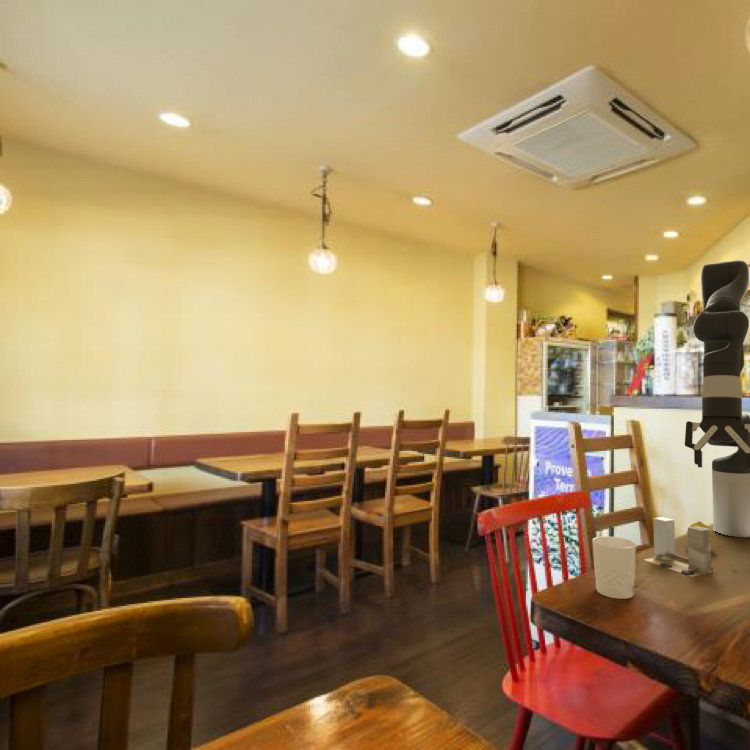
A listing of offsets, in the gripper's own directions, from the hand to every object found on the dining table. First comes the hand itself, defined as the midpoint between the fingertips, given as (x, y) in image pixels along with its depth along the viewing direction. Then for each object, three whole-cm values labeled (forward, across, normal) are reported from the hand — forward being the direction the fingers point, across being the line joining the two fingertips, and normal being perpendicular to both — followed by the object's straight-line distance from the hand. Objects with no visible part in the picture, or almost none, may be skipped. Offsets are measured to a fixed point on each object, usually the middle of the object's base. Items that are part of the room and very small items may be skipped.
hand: (722, 469), depth 115 cm
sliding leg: (+22, +11, +1) cm, 24 cm away
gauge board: (+23, +8, +3) cm, 25 cm away
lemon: (+21, +5, -12) cm, 25 cm away
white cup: (+26, +16, +25) cm, 40 cm away
